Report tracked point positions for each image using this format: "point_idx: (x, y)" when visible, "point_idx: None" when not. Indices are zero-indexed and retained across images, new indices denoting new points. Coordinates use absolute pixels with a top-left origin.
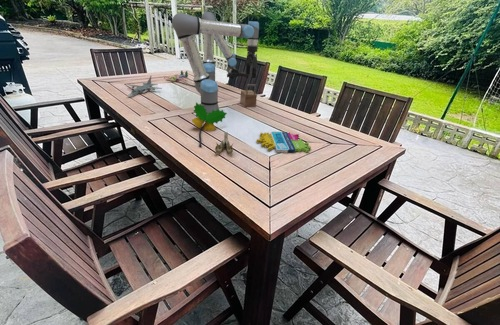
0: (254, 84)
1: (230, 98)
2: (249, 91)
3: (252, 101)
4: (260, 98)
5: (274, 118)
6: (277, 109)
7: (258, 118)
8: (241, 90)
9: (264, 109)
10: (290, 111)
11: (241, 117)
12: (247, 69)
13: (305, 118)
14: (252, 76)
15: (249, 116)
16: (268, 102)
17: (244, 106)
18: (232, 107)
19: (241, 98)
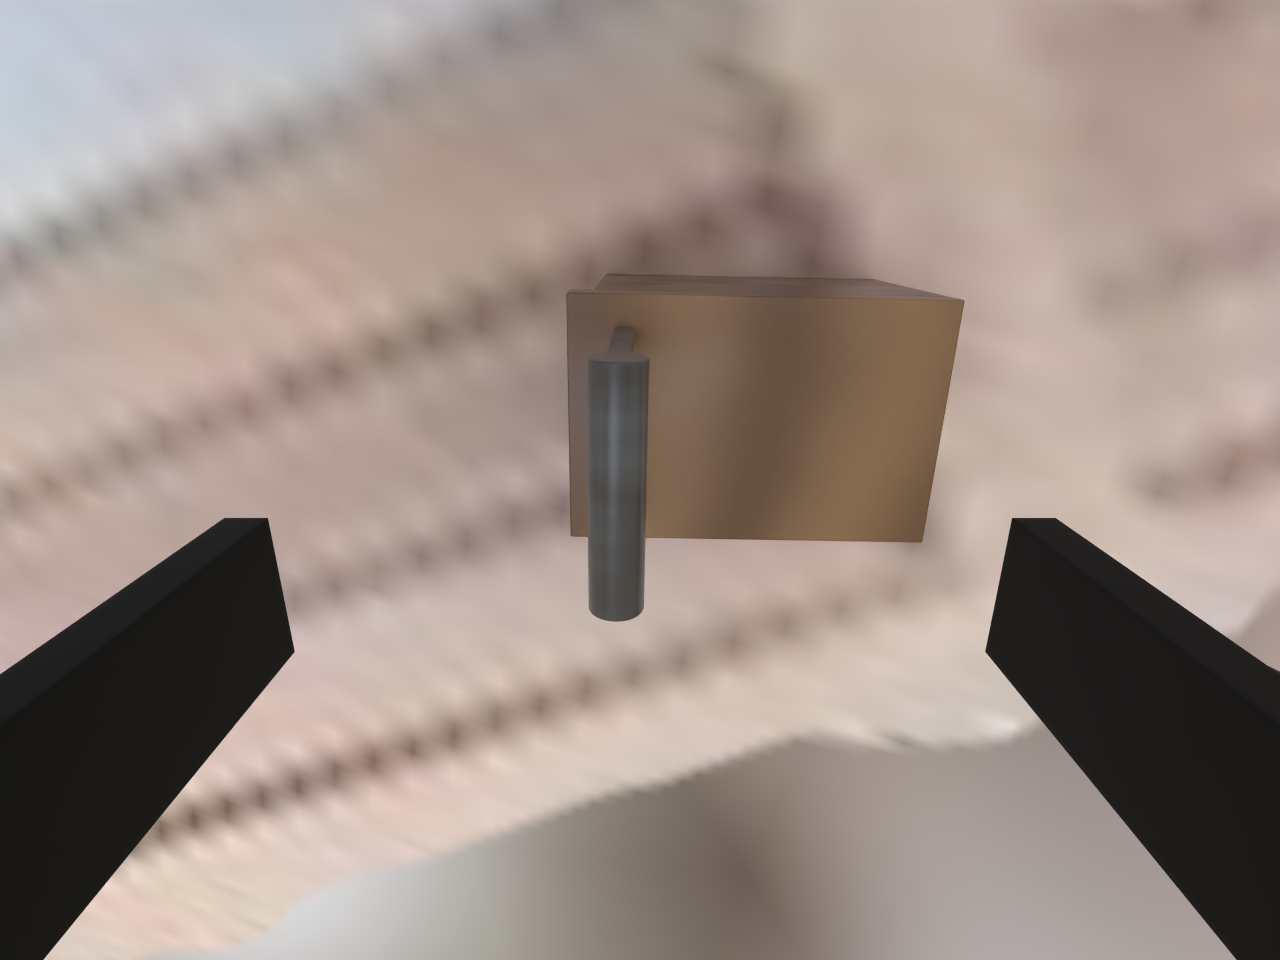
0: (600, 578)
1: (1162, 168)
2: (834, 467)
3: None
4: (992, 663)
5: (97, 525)
6: (463, 694)
7: (72, 307)
8: (955, 314)
9: (474, 535)
10: (378, 802)
11: (89, 35)
12: (1138, 680)
13: None
14: (187, 552)
15: (150, 195)
16: (778, 697)
17: (628, 275)
18: (624, 35)
19: (836, 284)
